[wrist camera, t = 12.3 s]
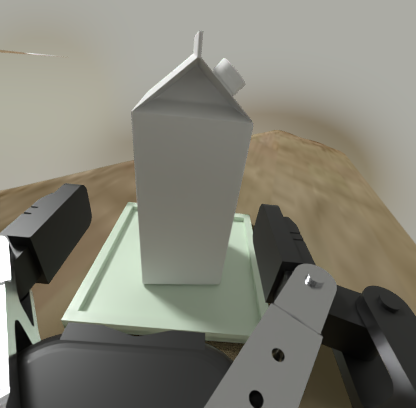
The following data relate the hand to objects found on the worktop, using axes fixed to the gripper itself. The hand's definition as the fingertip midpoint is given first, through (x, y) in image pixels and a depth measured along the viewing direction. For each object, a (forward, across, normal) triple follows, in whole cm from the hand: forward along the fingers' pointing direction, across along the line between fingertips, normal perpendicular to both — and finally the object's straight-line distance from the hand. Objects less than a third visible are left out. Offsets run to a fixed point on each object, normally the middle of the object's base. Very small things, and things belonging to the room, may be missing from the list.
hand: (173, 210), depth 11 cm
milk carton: (+8, 0, +12) cm, 15 cm away
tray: (+8, 0, +12) cm, 15 cm away
